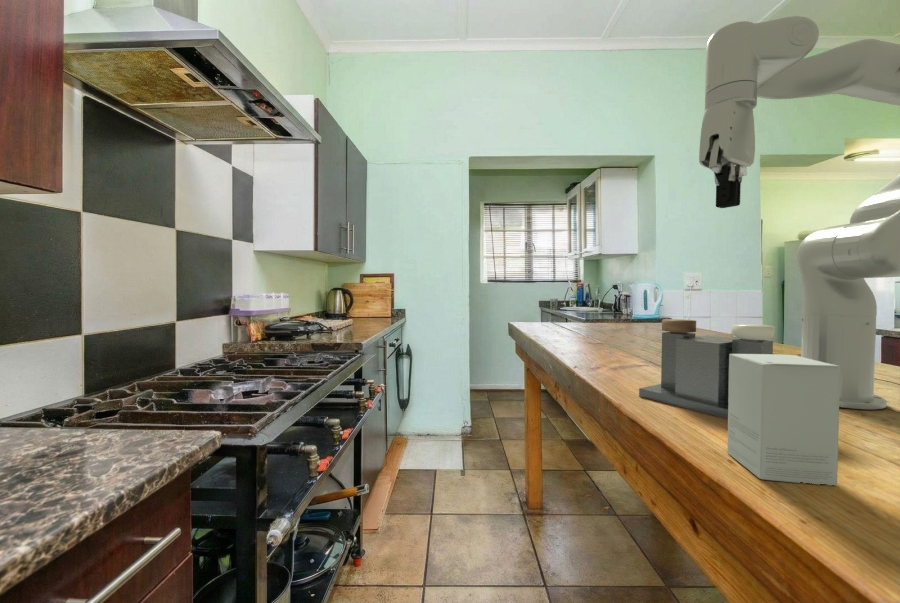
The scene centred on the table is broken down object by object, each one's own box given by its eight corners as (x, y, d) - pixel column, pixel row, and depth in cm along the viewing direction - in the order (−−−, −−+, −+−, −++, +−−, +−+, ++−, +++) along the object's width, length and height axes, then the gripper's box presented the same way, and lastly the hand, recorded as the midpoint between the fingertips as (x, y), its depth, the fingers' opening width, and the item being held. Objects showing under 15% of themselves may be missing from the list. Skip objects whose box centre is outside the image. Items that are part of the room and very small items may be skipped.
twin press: (678, 387, 81) (679, 329, 80) (794, 412, 64) (796, 340, 64) (639, 396, 74) (640, 333, 74) (756, 426, 58) (758, 346, 57)
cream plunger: (740, 392, 68) (741, 323, 68) (779, 400, 63) (781, 326, 63) (723, 396, 65) (724, 324, 65) (763, 405, 60) (765, 327, 60)
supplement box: (840, 487, 40) (844, 365, 40) (758, 480, 42) (761, 363, 41) (793, 457, 48) (796, 353, 47) (724, 452, 49) (727, 351, 49)
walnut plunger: (671, 378, 78) (672, 318, 78) (701, 384, 73) (702, 320, 73) (654, 381, 76) (655, 319, 75) (684, 388, 71) (685, 322, 70)
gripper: (728, 119, 76) (726, 213, 77) (684, 101, 69) (682, 206, 70) (775, 103, 70) (772, 207, 71) (732, 81, 63) (729, 197, 63)
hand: (727, 206), depth 70 cm, fingers closed
